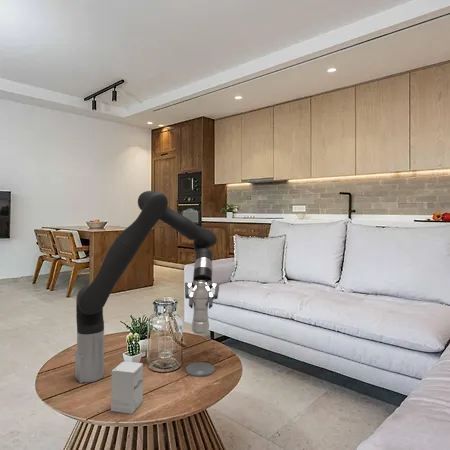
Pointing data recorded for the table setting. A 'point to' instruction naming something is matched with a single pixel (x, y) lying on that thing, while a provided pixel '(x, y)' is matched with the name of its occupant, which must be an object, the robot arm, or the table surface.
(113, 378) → the supplement box
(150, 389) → the table surface
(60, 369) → the table surface
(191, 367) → the coaster
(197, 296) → the plastic bottle
